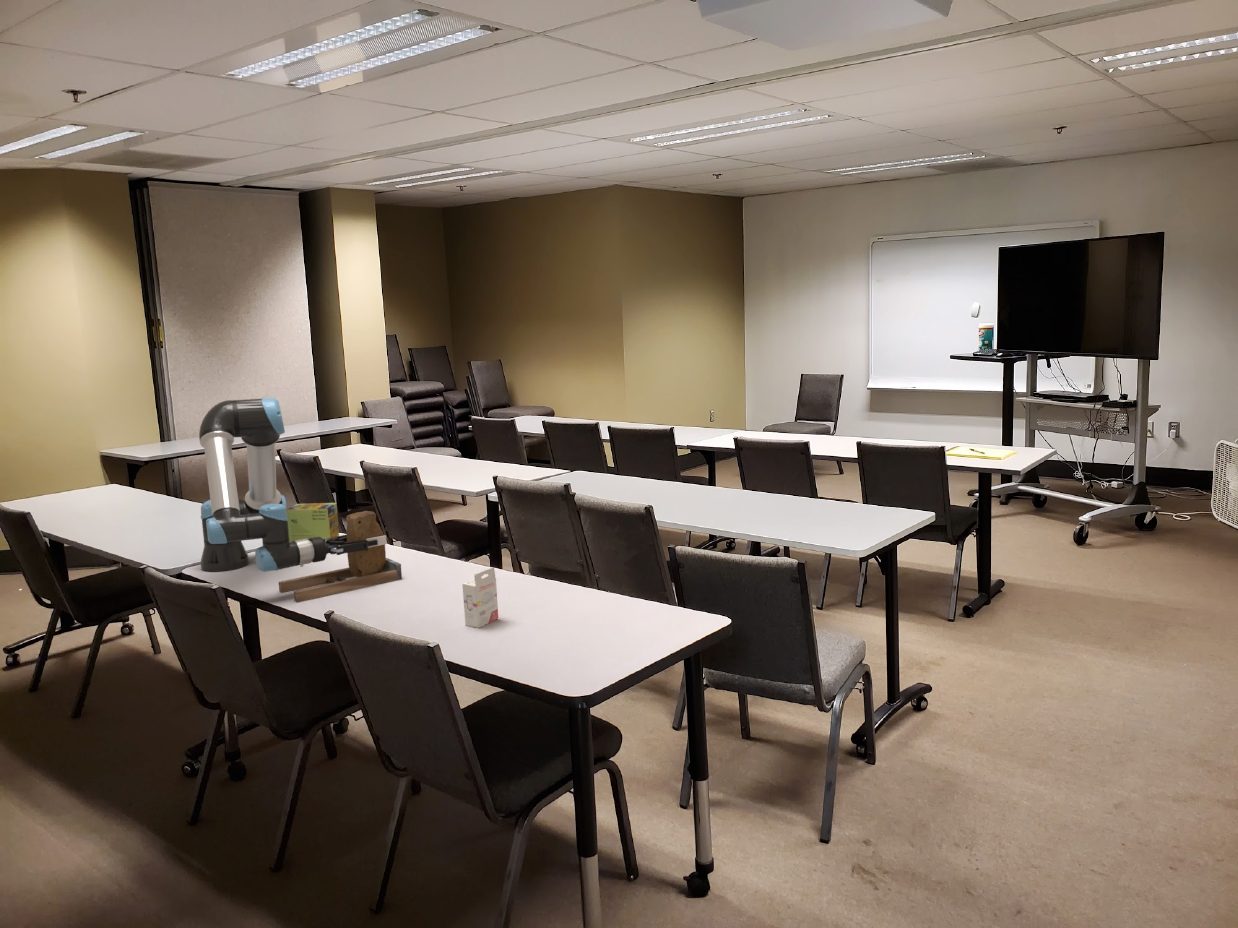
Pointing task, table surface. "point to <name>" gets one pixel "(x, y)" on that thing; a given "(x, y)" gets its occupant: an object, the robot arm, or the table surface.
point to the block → (375, 557)
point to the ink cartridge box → (480, 599)
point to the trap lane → (344, 584)
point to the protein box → (312, 521)
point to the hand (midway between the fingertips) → (380, 537)
